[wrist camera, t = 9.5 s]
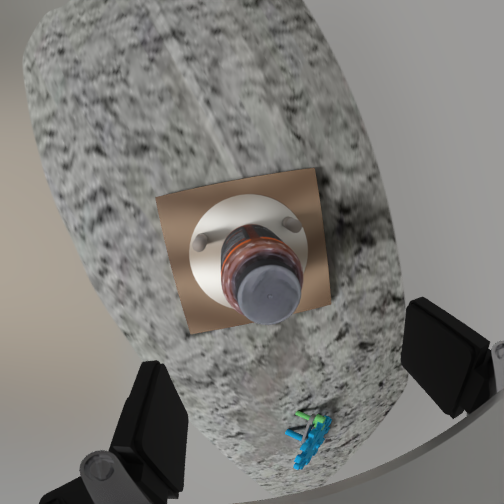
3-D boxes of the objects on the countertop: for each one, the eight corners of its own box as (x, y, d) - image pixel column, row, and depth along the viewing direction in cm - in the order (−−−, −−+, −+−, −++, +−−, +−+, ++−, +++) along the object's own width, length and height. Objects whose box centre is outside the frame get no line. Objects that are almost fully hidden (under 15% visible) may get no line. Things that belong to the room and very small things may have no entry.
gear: (324, 449, 36) (295, 482, 28) (295, 437, 40) (263, 466, 32) (342, 402, 36) (314, 435, 28) (310, 390, 39) (276, 417, 31)
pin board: (158, 196, 27) (147, 198, 22) (310, 168, 28) (325, 165, 23) (191, 327, 30) (187, 348, 26) (326, 299, 31) (341, 315, 27)
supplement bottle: (214, 273, 27) (208, 327, 16) (229, 215, 26) (233, 235, 15) (270, 287, 28) (297, 345, 17) (288, 232, 27) (329, 262, 16)
